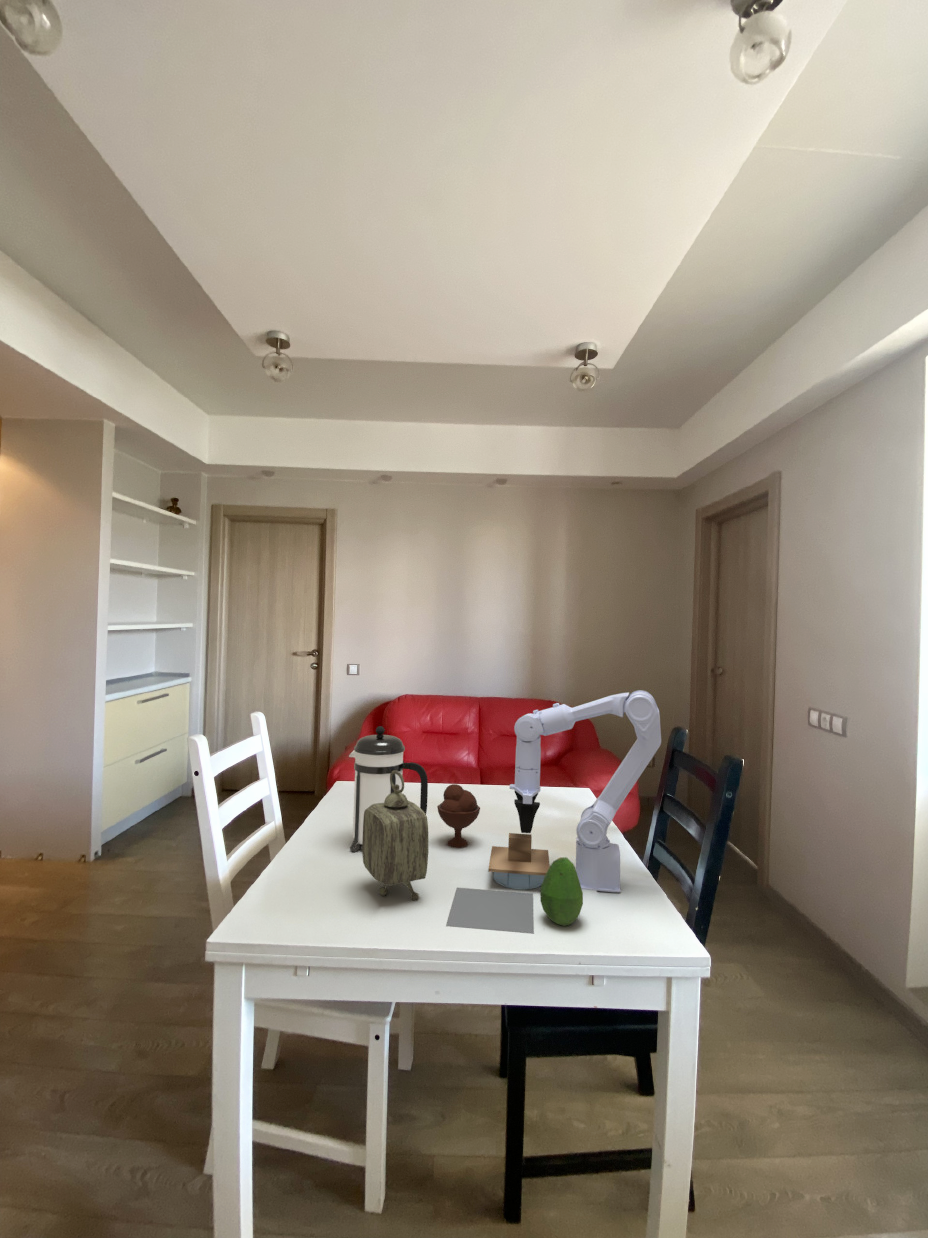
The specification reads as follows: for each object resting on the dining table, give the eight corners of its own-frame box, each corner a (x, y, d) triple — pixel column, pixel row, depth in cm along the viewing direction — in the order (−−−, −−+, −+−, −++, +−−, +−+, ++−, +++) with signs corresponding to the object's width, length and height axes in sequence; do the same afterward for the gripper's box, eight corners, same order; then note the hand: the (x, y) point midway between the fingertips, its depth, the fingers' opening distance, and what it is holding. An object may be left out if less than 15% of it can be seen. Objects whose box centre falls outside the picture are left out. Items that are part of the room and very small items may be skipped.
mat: (532, 895, 117) (532, 893, 117) (533, 935, 101) (533, 933, 101) (456, 889, 119) (456, 887, 119) (445, 928, 103) (445, 926, 103)
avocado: (576, 913, 110) (578, 850, 110) (586, 934, 102) (588, 867, 102) (536, 912, 110) (537, 850, 110) (543, 933, 102) (544, 866, 102)
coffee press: (367, 862, 131) (371, 733, 132) (336, 842, 143) (340, 724, 144) (427, 846, 142) (431, 727, 143) (393, 829, 155) (397, 719, 156)
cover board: (548, 852, 130) (548, 828, 130) (550, 876, 117) (551, 849, 117) (492, 848, 131) (492, 824, 132) (488, 871, 118) (489, 844, 119)
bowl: (543, 871, 129) (543, 854, 129) (544, 893, 118) (545, 873, 118) (495, 868, 130) (495, 850, 130) (492, 889, 119) (493, 870, 119)
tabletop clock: (427, 903, 112) (430, 777, 113) (384, 913, 107) (388, 782, 108) (398, 875, 125) (401, 762, 125) (359, 883, 120) (363, 766, 121)
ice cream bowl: (442, 853, 138) (444, 792, 138) (432, 837, 149) (434, 780, 149) (483, 850, 141) (485, 790, 141) (471, 835, 151) (472, 779, 152)
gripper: (510, 759, 136) (508, 815, 136) (509, 773, 122) (507, 836, 121) (539, 760, 136) (537, 817, 135) (542, 775, 121) (540, 839, 121)
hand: (525, 826), depth 128 cm, fingers open, 7 cm apart
